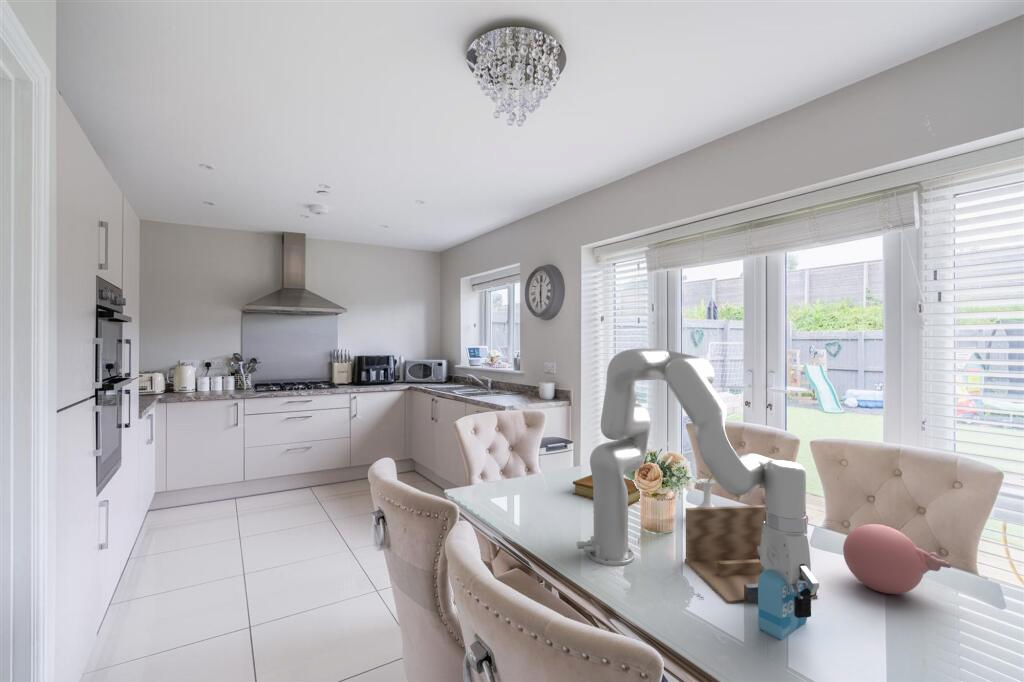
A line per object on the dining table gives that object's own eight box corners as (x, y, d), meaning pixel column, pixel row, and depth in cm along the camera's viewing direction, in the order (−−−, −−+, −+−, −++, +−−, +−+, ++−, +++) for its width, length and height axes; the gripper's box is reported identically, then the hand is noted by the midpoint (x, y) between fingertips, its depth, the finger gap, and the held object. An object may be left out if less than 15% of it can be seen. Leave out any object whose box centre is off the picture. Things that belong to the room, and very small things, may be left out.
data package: (780, 643, 94) (780, 583, 94) (757, 632, 97) (757, 574, 97) (807, 623, 100) (807, 566, 101) (785, 613, 104) (785, 558, 104)
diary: (649, 497, 184) (649, 482, 184) (624, 509, 170) (624, 493, 170) (598, 485, 200) (598, 471, 200) (572, 495, 186) (572, 481, 186)
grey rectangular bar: (748, 600, 107) (748, 587, 107) (744, 597, 109) (744, 584, 109) (800, 597, 109) (800, 584, 109) (796, 594, 110) (796, 581, 110)
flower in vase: (688, 525, 154) (688, 449, 154) (689, 514, 165) (689, 442, 165) (732, 531, 149) (732, 453, 149) (730, 519, 160) (730, 445, 160)
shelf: (728, 605, 107) (728, 539, 107) (684, 562, 128) (684, 507, 128) (817, 599, 110) (817, 535, 110) (760, 558, 130) (760, 504, 131)
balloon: (952, 624, 100) (952, 551, 100) (839, 591, 113) (839, 527, 113) (950, 595, 112) (950, 530, 112) (847, 568, 125) (847, 510, 125)
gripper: (743, 508, 107) (744, 583, 107) (797, 539, 90) (798, 629, 89) (774, 506, 108) (775, 581, 107) (834, 537, 90) (835, 626, 90)
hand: (785, 603), depth 98 cm, fingers open, 9 cm apart
